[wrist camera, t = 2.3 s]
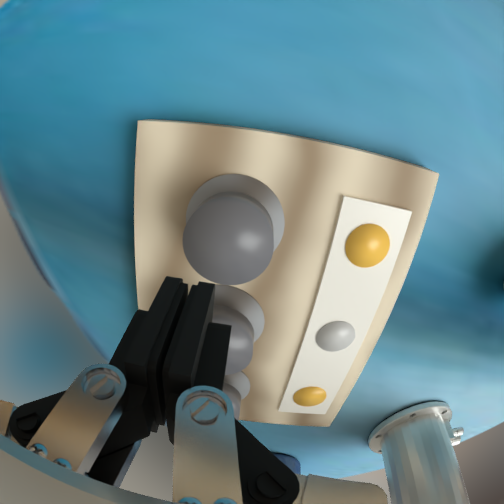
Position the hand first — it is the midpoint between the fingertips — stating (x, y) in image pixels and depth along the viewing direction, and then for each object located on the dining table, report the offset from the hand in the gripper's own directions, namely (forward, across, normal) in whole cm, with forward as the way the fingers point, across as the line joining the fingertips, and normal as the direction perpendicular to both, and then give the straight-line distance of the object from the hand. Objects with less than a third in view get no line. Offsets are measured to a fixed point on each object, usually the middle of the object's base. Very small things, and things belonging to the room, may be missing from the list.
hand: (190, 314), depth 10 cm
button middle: (+9, -1, +9) cm, 12 cm away
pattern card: (+10, -10, +9) cm, 16 cm away
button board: (+12, -4, +9) cm, 15 cm away
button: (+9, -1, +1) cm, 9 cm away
